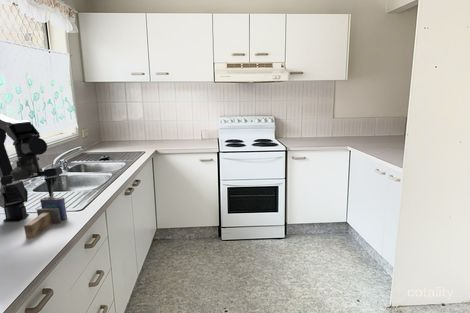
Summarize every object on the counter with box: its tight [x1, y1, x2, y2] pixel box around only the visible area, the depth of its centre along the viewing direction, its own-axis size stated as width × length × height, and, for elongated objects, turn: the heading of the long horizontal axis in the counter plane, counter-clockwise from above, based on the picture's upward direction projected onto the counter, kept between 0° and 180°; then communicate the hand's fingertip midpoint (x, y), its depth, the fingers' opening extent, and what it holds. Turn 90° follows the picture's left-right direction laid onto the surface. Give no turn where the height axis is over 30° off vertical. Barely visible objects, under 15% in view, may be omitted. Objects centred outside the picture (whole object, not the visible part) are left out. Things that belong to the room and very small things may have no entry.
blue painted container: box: [40, 193, 68, 221], centre depth 126 cm, size 9×3×11 cm, turn 91°
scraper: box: [23, 208, 62, 239], centre depth 117 cm, size 13×8×6 cm, turn 0°
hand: (37, 198), depth 115 cm, fingers open, 9 cm apart
